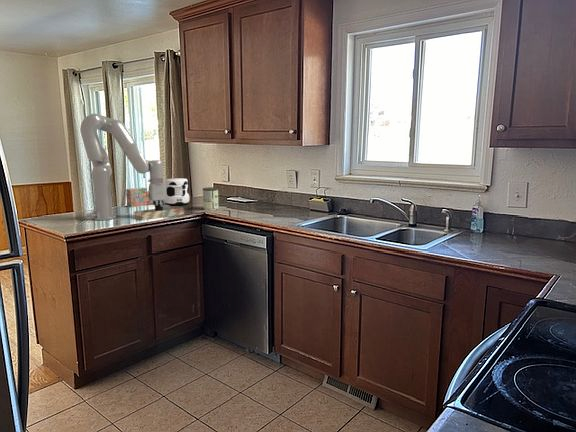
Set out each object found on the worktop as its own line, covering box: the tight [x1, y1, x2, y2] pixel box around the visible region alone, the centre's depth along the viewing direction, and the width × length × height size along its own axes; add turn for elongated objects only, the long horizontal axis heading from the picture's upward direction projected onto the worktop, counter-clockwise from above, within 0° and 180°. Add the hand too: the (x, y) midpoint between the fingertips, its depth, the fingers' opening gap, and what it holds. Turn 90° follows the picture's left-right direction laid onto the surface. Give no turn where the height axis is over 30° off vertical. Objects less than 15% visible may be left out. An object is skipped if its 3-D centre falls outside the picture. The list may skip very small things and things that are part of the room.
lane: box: [133, 205, 185, 221], centre depth 265 cm, size 28×10×4 cm, turn 136°
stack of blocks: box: [125, 187, 158, 208], centre depth 306 cm, size 21×6×12 cm, turn 137°
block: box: [161, 204, 171, 211], centre depth 267 cm, size 5×5×4 cm
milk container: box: [164, 177, 190, 206], centre depth 310 cm, size 17×17×18 cm
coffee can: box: [202, 186, 220, 211], centre depth 291 cm, size 10×10×14 cm
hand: (158, 211), depth 264 cm, fingers closed
